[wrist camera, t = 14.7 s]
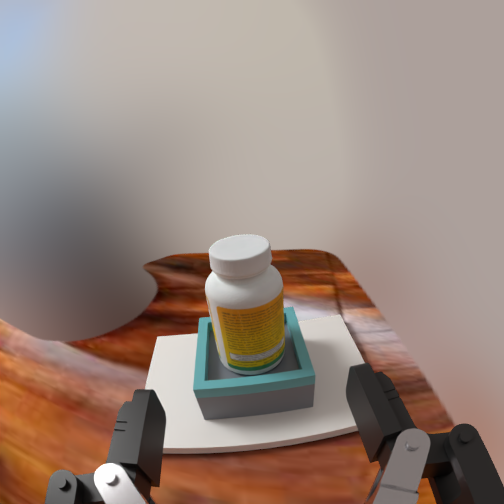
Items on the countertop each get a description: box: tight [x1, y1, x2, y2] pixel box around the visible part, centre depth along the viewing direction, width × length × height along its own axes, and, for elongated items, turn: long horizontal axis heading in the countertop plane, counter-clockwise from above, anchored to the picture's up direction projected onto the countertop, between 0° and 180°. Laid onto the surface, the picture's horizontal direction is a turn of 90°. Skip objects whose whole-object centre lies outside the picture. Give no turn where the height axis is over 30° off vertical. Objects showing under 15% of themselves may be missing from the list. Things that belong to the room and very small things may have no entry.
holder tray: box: [145, 307, 365, 454], centre depth 24 cm, size 20×14×5 cm
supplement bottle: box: [205, 234, 285, 375], centre depth 22 cm, size 5×5×10 cm
